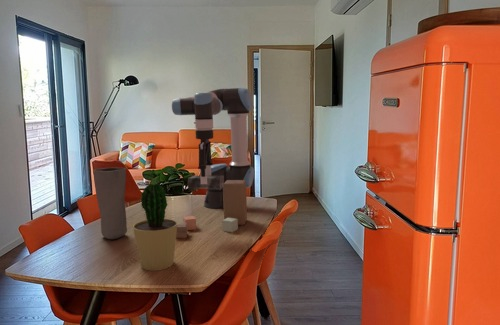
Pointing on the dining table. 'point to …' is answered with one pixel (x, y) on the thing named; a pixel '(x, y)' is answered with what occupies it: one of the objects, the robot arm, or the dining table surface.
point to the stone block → (212, 182)
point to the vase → (111, 201)
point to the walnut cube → (181, 231)
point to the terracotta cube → (190, 222)
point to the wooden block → (235, 200)
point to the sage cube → (230, 224)
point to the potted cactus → (155, 231)
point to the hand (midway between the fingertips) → (206, 181)
